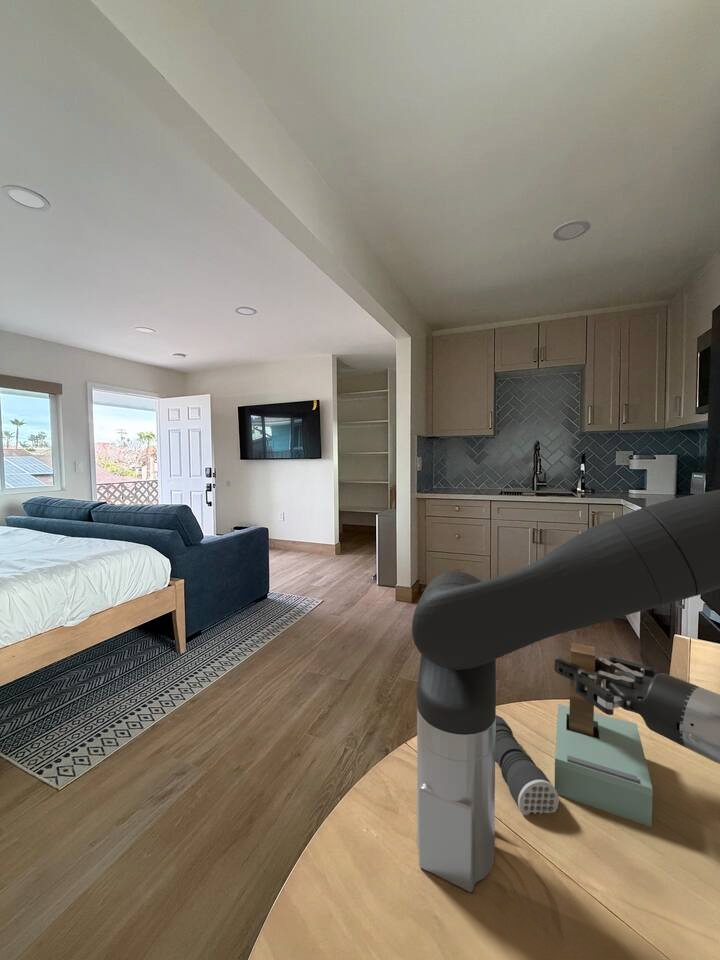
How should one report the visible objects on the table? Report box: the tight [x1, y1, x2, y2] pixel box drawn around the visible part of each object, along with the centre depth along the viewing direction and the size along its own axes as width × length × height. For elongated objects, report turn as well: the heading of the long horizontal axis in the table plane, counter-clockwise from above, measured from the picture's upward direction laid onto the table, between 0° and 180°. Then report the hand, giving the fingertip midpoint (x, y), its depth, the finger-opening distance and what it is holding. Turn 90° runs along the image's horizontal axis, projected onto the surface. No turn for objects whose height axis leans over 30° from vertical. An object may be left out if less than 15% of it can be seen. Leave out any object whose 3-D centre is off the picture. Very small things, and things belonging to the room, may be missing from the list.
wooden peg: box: [569, 642, 596, 737], centre depth 61 cm, size 3×3×14 cm
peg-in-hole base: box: [554, 703, 654, 828], centre depth 59 cm, size 14×11×6 cm
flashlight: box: [495, 714, 560, 816], centre depth 59 cm, size 15×5×5 cm, turn 6°
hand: (565, 660), depth 63 cm, fingers closed on wooden peg, 4 cm apart
